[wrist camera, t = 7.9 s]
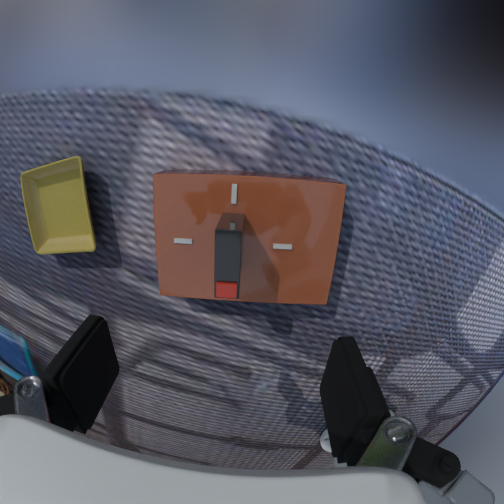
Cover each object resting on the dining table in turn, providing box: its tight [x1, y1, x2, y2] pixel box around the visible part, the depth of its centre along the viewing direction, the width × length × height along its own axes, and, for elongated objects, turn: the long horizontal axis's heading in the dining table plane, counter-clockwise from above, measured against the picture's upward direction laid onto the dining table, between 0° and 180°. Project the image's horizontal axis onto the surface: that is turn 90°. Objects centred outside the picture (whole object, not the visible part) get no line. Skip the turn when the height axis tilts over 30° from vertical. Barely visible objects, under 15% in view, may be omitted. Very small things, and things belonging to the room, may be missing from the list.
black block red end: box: [214, 213, 245, 299], centre depth 19 cm, size 5×2×4 cm, turn 176°
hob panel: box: [153, 170, 347, 305], centre depth 22 cm, size 14×10×3 cm
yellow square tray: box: [20, 156, 96, 254], centre depth 22 cm, size 9×9×2 cm
